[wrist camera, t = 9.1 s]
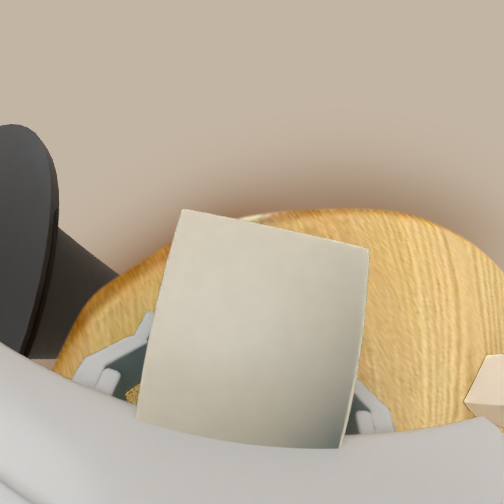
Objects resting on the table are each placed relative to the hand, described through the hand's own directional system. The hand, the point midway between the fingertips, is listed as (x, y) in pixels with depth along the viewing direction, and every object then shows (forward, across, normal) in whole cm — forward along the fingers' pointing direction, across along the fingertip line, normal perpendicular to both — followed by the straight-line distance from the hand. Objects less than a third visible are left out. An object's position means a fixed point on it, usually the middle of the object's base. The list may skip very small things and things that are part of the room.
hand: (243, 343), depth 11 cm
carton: (+4, 0, +5) cm, 6 cm away
